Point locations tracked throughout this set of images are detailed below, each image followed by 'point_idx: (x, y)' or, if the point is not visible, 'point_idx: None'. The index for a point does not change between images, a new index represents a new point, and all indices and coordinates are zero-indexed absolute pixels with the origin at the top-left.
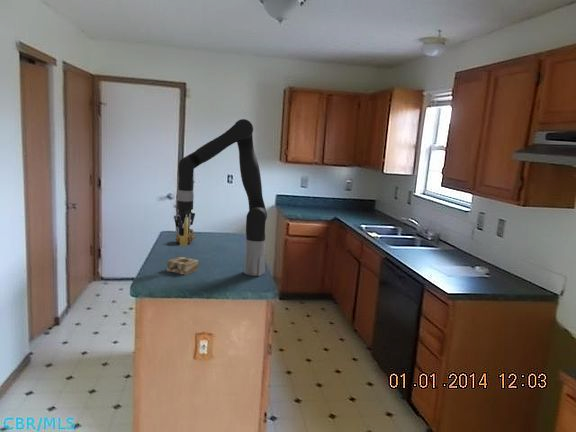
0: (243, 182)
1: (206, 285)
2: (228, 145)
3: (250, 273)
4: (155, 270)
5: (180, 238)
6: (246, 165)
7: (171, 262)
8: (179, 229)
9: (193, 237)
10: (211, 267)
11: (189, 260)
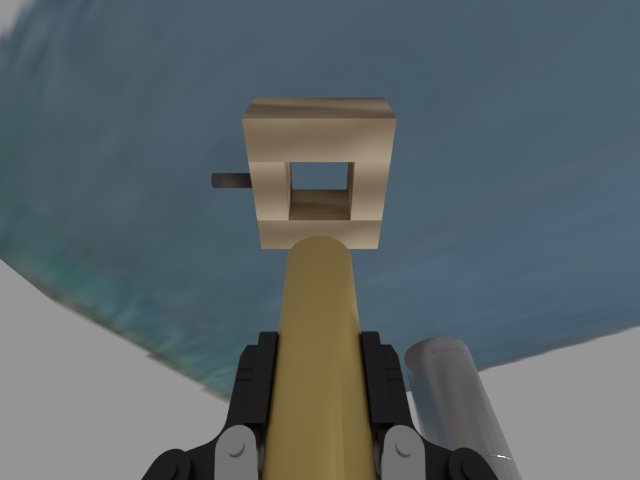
0: None
1: (229, 318)
2: None
3: (405, 364)
4: (206, 22)
5: (283, 301)
6: None
7: (248, 153)
8: (230, 411)
9: None
10: (444, 236)
11: (351, 213)
